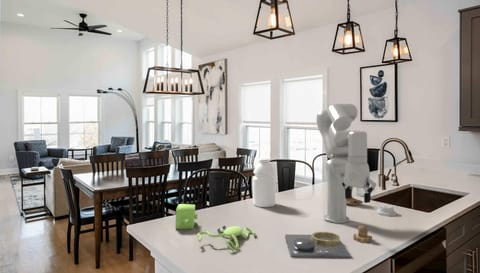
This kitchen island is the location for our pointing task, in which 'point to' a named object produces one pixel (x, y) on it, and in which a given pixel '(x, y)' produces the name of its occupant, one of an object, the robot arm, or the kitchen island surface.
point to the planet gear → (362, 235)
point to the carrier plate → (316, 245)
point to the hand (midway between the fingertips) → (357, 200)
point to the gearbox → (185, 216)
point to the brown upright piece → (353, 200)
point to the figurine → (228, 234)
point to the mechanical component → (386, 210)
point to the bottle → (264, 184)
